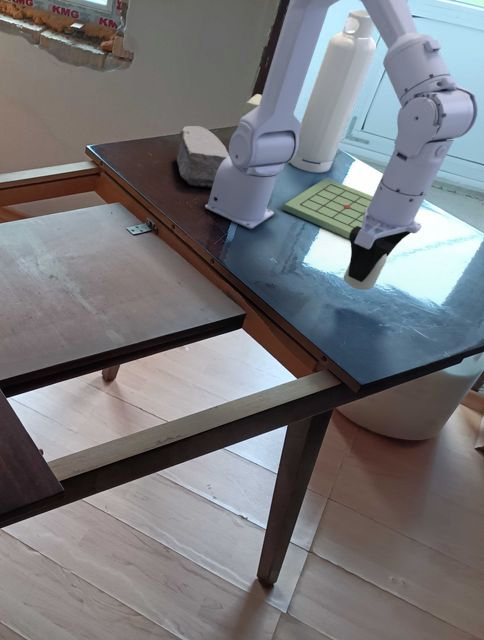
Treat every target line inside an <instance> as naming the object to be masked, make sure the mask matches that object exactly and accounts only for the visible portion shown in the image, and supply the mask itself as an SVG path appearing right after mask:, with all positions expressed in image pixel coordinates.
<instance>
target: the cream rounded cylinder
mask: <svg viewBox="0 0 484 640" xmlns="http://www.w3.org/2000/svg"><path fill="white" fill-rule="evenodd" d="M387 259H388V257H387V254H385V255H384V256H383V257H382V258H381V259H380V260H379V261H378V263H377V264H376V265H375V267H374V268H373V270H372V271H371V273H370V274H369V275H368V276H367V278H366V279H365V280H364V281H362V282H360V281H358V280H356V279H353V278H351V277H349V276H348V272H349V265H350V262H349V263H348V267H347V268H346V270H345V272H344V274H343V280H344V282H345V283H346V284H347V285H348V286H350V287H352V288H355V289H357V290H363V291H368V290H369V291H370V290H371V289H373V288H374V287H375V285H376V283H377V280H378V279H379V277H380V275H381V273H382V270H383V269H384V267H385V265H386V263H387Z"/></svg>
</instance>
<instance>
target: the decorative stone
mask: <svg viewBox="0 0 484 640" xmlns="http://www.w3.org/2000/svg"><path fill="white" fill-rule="evenodd" d="M228 156H229V151H228V150H227V147H226V146H225V145H224V144H223V142H222V141H221V140H220V138H218V137H217V136H216V135H215V134H214V133H213V132H212V131H211V130H209V129H206V128H205V127H204V126H199V125H187V126H184V127H183V128H182V129H181V131H180V132H179V142H178V150H177V155H176V163H177V166H178V172H179V175H180V177H181V179H182V180H183V181H185V182H186V183H187V184H188V185H189V186H191V187H196V188H203V189H212V186H213V183H214V179H215V175H216V173H217V170H218V168H219V166H220V165H221V163H222V162H223V161H224V159H226V158H227V157H228Z"/></svg>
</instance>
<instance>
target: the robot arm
mask: <svg viewBox="0 0 484 640" xmlns="http://www.w3.org/2000/svg"><path fill="white" fill-rule="evenodd" d="M339 1H340V0H289V3H288V6H287V10H286V13H285V17H284V20H283V23H282V27H281V29H280V33H279V36H278V40H277V43H276V47H275V51H274V53H273V57H272V60H271V64H270V68H269V71H268V74H267V77H266V81H265V83H264V88H263V91H262V94H261V95H262V97H261V101H260V104H259V106H258V107H256V108H255V109H253V110H252V111H251V112H249V113H248V114H246V115H245V116H243V115H242V117H241V118H240V119H239V121H238V125H237V128H236V130H235V131H234V133H232V135H231V138H230V140H229V144H228V153H229V156H228V157H227V158H226V159H224V161H223V162H222V163H221V165H220V166H219V168H218V170H217V173H216V175H215V179H214V183H213V186H212V188H211V190H210V191H211V192H210V194H209V198H208V202H207V204H205V206H204V208H205V209H207V210H208V211H211V212H213V213H214V214H217V215H219V216H221V217H224V218H225V219H227V220H230V221H232V222H234V223H236V224H239V225H241V226H243V227H245V228H247V229H249V230H251V229H254V228H255V227H257V226H259V225H260V224H262V223H263V222H265V221H266V220H268V219H269V218H271V217H272V216H274V214H275V212H274V211H273V210H271V209H269V208H268V205H269V202H270V199H271V196H272V193H273V191H274V188H275V185H276V182H277V179H278V176H279V172H280V171H283V170H284V169H285V165H286V164H289V163H290V162H291V161H292V160H293V159H294V157H295V156H296V153H297V151H298V145H299V132H300V129H301V126H302V125H301V121H300V120H299V118H298V117H297V116H296V115H295V111H296V108H297V105H298V101H299V98H300V95H301V92H302V89H303V87H304V84H305V80H306V77H307V75H308V71H309V69H310V65H311V62H312V59H313V56H314V53H315V50H316V47H317V44H318V42H319V38H320V35H321V32H322V29H323V26H324V24H325V20H326V16H327V14H328V11H329V8H330V7H331V6H333V5H334V4H336V3H338V2H339ZM359 2H361V3H362V5H363V7H364V9H365V11H367V12H368V14H369V15H368V17H369V18H371V19H372V21H373V23H374V24H375V26H374V27H375V28H376V30H377V32H378V33H379V36H380V37H381V39H382V40H383V43H384V44H385V46H386V48H387V51H386V53H385V55H384V58H383V61H382V65H383V68H384V70H385V72H386V74H387V77H388V79H389V81H390V84H391V86H392V88H393V91H394V92H395V95H396V97H397V99H398V102H399V104H400V106H401V107H400V108H399V110H398V114H397V122H396V124H397V134H396V138H395V139H394V142H393V143H394V150H393V152H392V153H391V156H390V158H389V160H388V163H387V164H386V167H385V169H384V172H383V174H382V175H381V178H380V179H379V180H380V181H379V183H378V185H377V187H376V189H375V191H374V194H373V195H372V196H373V198H372V200H371V203H370V205H369V206H368V207H367V208H366V210H365V212H364V217H363V223H362V228H361V227H359V226H356V227H355V228H353V229H352V230H351V232H350V235H349V238H350V239H349V242H350V251H351V252H350V259H349V263H350V265H349V264H348V266H349V272H348V276H349V277H351V278H353V279H356V280H358V281H360V282H362V281H364V280H365V279H366V278H367V276H368V275H369V274H370V273H371V271H372V270H373V268H374V267H375V265H376V264H377V263H378V261H379V260H380V259H381V258H382V257H383V256H384V255H385V254H387V258H388V257H389V256H390V254H391V253H392V251H393V250H394V249H395V248H396V247H397V245H399V243H400V242H401V241H403V239H404V238H406V237H407V236H409V235H410V234H417V233H418V232H419V231H420V230H421V228H422V224H421V223H420V222H417V221H416V220H415V218H416V216H417V214H418V212H419V210H420V209H421V206H422V204H423V203H424V201H425V199H426V196H427V194H428V192H429V190H431V186H432V185H433V183H434V181H435V179H436V177H437V175H438V172H439V171H440V169H441V167H442V165H443V163H444V161H445V159H446V157H447V155H448V153H449V151H450V149H451V147H452V145H453V143H454V139H458V138H461V137H463V136H465V135H466V134H468V132H470V131H471V129H473V127H474V125H475V123H476V121H477V117H478V111H479V110H478V104H477V100H476V95H475V93H474V92H473V91H471V90H470V89H468V88H466V87H462V86H460V85H459V83H458V81H457V82H456V81H455V79H454V77H453V76H451V73H450V71H449V70H448V66H447V65H446V63H445V60H444V59H443V57H442V54H441V52H440V50H441V49H442V46H441V44H440V42H439V40H438V39H434V38H433V36H432V35H429V34H425V33H419V32H418V29H417V26H416V24H415V21H414V17H413V15H412V13H411V10H410V7H409V4H408V1H407V0H359Z"/></svg>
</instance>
